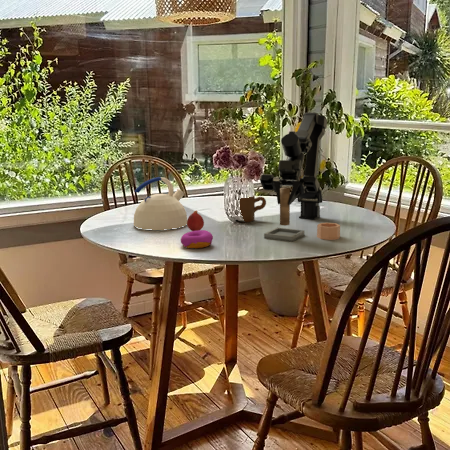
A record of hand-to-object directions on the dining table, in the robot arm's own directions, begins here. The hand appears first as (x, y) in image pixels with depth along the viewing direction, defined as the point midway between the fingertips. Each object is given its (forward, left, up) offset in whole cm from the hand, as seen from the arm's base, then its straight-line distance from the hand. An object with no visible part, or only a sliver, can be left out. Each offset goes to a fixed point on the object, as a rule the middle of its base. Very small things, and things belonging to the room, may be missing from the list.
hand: (283, 204), depth 170 cm
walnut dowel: (0, +1, -7) cm, 7 cm away
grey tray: (0, +1, -12) cm, 12 cm away
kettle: (-49, -2, -12) cm, 51 cm away
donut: (-20, -20, -12) cm, 31 cm away
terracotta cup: (+13, +7, -12) cm, 19 cm away
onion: (-30, -7, -12) cm, 33 cm away
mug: (-23, +20, -12) cm, 33 cm away
